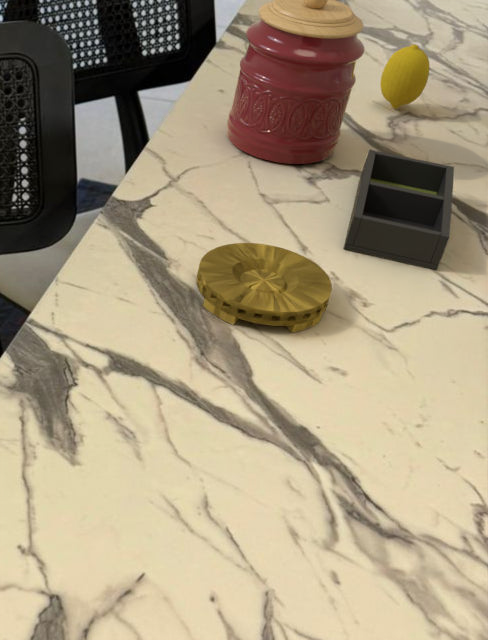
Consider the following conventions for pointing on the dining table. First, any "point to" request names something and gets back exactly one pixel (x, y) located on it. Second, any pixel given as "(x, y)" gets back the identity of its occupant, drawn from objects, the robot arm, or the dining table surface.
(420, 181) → the pad holder
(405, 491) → the dining table surface
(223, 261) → the gold flat round disc
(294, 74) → the kitchen canister
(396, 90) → the lemon
